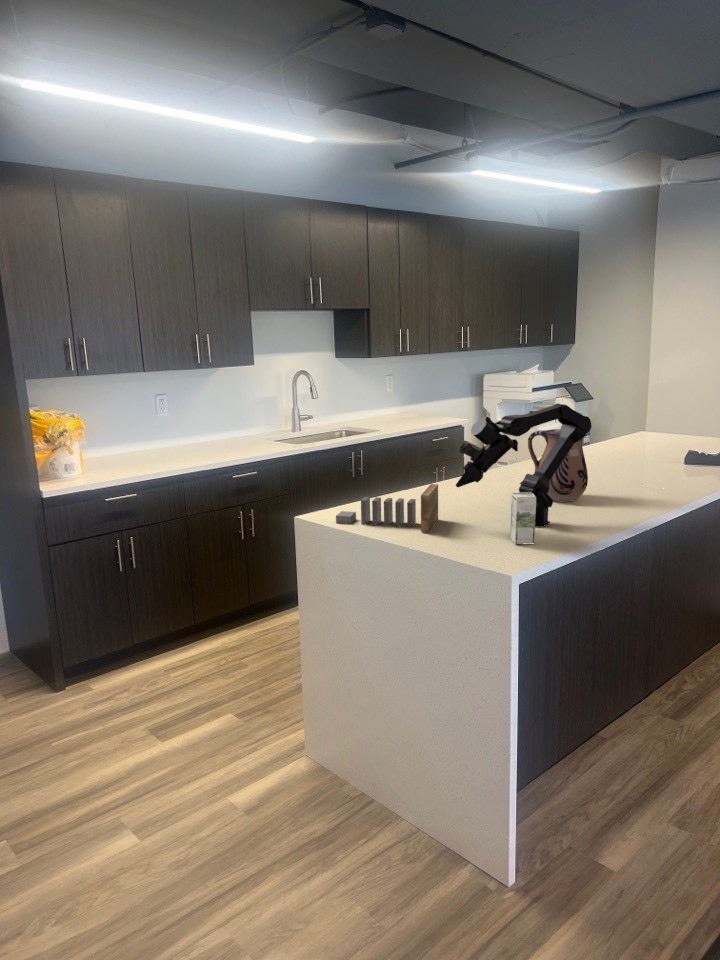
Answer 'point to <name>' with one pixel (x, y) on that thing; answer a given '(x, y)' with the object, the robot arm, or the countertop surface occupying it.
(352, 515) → the block
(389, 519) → the domino
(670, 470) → the countertop surface
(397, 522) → the domino
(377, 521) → the domino
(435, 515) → the board
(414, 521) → the domino
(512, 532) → the syrup box
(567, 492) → the ceramic pitcher
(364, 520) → the domino
